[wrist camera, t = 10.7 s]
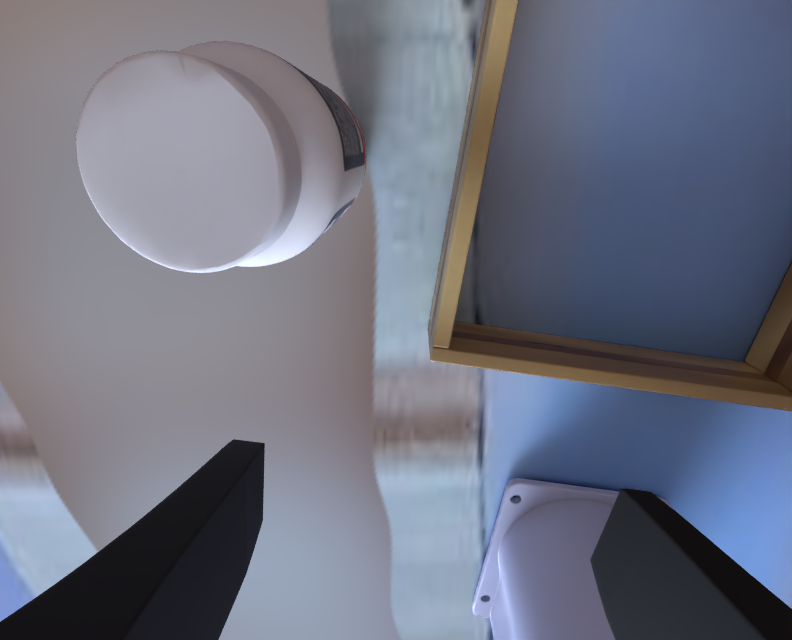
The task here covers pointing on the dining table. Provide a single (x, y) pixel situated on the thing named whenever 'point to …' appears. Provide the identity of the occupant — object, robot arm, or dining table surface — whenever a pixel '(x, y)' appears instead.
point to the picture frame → (563, 356)
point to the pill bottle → (217, 156)
